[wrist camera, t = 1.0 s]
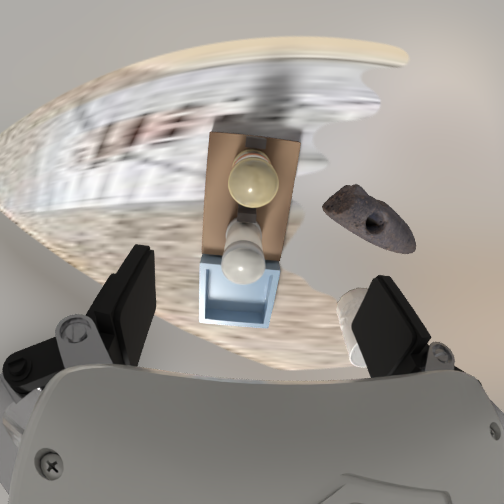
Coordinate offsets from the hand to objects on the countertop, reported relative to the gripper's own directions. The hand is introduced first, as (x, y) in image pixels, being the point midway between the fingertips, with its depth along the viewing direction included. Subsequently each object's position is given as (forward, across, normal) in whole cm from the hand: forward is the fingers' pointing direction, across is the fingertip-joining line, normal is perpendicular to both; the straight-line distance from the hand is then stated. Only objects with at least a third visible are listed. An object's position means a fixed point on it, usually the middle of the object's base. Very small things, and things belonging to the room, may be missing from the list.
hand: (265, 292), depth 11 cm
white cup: (+22, -20, +17) cm, 35 cm away
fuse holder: (+23, 0, +3) cm, 23 cm away
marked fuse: (+21, 0, -1) cm, 21 cm away
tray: (+22, -1, +16) cm, 28 cm away
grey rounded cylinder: (+21, 0, +7) cm, 22 cm away
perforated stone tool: (+23, -16, +3) cm, 28 cm away
